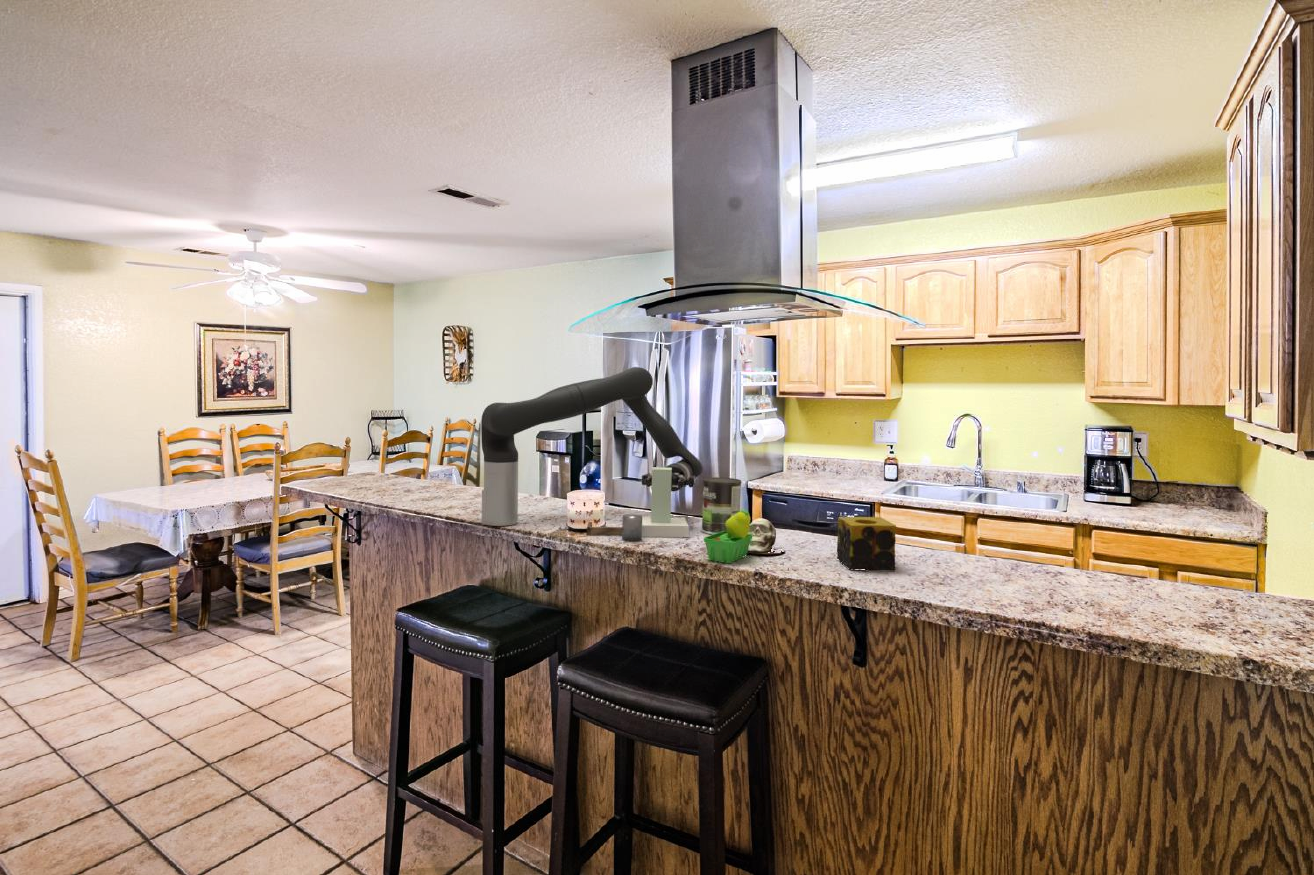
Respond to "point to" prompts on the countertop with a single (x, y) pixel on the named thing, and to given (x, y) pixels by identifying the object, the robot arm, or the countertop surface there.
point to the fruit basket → (730, 539)
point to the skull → (762, 537)
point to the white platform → (665, 528)
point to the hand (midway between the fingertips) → (663, 483)
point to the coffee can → (719, 503)
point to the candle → (866, 543)
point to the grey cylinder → (632, 527)
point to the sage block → (661, 495)
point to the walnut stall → (603, 530)
